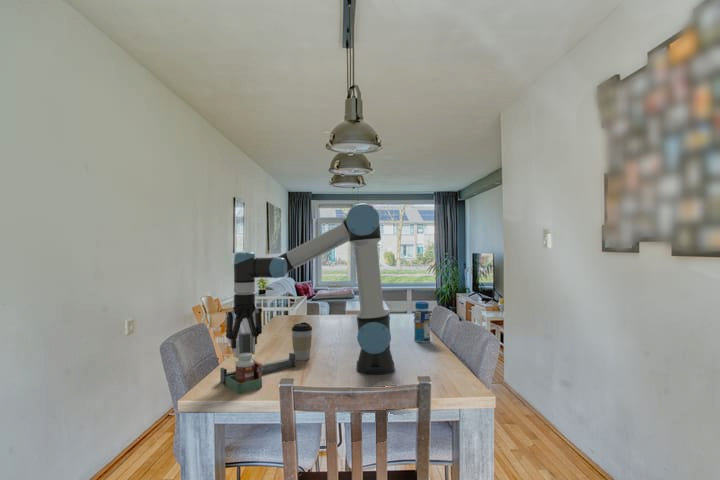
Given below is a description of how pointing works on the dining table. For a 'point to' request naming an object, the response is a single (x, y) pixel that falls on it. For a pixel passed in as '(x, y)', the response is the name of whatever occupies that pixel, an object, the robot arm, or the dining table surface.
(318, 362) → the dining table surface
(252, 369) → the pill bottle
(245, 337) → the kicker
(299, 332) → the coffee cup
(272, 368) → the rail
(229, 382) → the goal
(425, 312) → the beverage bottle
